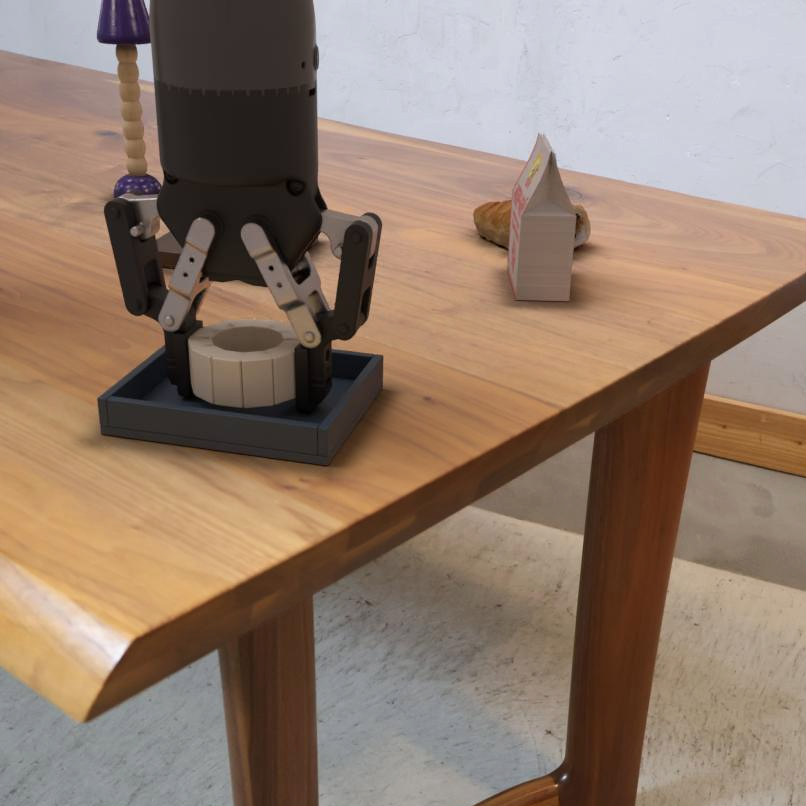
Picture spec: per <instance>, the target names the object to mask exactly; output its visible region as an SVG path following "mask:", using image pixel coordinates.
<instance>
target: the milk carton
mask: <svg viewBox="0 0 806 806" xmlns="http://www.w3.org/2000/svg"><path fill="white" fill-rule="evenodd" d="M556 155H557V154H556V152H555V150H554V149H553V147H552V145H551V143H550V142H549V139H548V138H547V136H546V134H545V133H544V132H543V134H542V133H540V132H538V133H537V137H536V140H535V144H534V146H533V149H532V151H531V154H530V156H529V158H528V160H527V162H526V163H525V165H524V166H523V169H522V171H521V173H520V175H519V176H518V178H517V180H516V182H515V184H514V186H513V187H512V189H511V200H512V202H511V218H510V234H509V249H508V250H507V251H508V252H507V269H506V270H507V274H508V278H509V281H510V285H511V289H512V292H513V295H514V299H515V301H539V302H540V301H543V302H544V301H545V302H570V295H571V293H570V292H571V282H572V272H573V259H574V249H575V248H574V238H575V227H576V214H575V212H574V209H573V207H572V204H573V203H572V202H571V200H570V197H569V194H568V193H567V190H566V188H565V185H564V182H563V180H562V176H561V173H560V171H559V167H558V162H557V161H558V160H557V156H556Z"/></svg>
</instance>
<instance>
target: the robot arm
mask: <svg viewBox="0 0 806 806" xmlns="http://www.w3.org/2000/svg"><path fill="white" fill-rule="evenodd" d="M148 9H149V10H148V11H149V12H148V14H149V23H150V38H151V43H150V48H151V49H150V51H151V60H152V61H151V62H152V75H153V86H154V87H153V88H154V100H155V101H154V102H155V117H156V128H157V141H158V154H159V164H160V166H161V169H162V173H163V181H162V184H161V185H162V188H161V190H160V192H159V194H155V195H145V194H144V193H143V192H141V191H139V190H132V191H129V192H127V193H125V194H123V195H121V196H119V197H117V198H115V197H114V199H111V200H109V201H107V202H106V204H105V205H104V207H103V215H104V220H105V223H106V229H107V232H108V237H109V242H110V245H111V249H112V250H111V251H112V255H113V257H114V263H115V266H116V271H117V276H118V280H119V285H120V288H121V293H122V298H123V301H124V302H123V303H124V306H125V308H126V310H127V312H128V313H129V314H130V315H132V316H135V317H141V316H145V317H147V318H150V319H151V320H153V321H156V322H157V323H158V324H159V325H160V327H161V328H162V330H163V339H164V345H165V352H166V364H167V376H168V378H169V380H170V382H171V384H172V385H177V392H178V395H179V396H183V397H191V398H193V397H194V396H195V394H194V393H193V389H192V386H191V378H190V364H189V350H188V339H189V337H190V336H191V335H192V334H194V333H195V332H196V331H197V330H198V329H200V328H202V327H204V320H201V319H197V315H198V314H199V312H200V310H201V307H202V305H203V304H204V301H205V299H206V296H207V294H208V292H209V289H210V287H211V285H212V284H213V283H215V282H217V283H228V282H233V281H239V282H242V283H244V284H247V285H250V286H254V287H261V288H268V290H269V293H270V294H271V296H272V299H273V300H274V302H275V305H276V306H277V308H278V309H280V311H281V310H282V311H283V312H284V313H285V315H286V316H287V319H288V321H289V324H290V325H292V327H293V329H294V331H295V333H296V335H297V337H298V339H299V341H300V343H299V344H298V345H297V346H296V347H295V348H294V350H295V385H296V409H297V411H298V412H305V413H312V412H313V411H314V409H315V408H316V407H317V406H318V404H321V402H322V401H323V400H324V399H325V397H326V396H327V395H328V394H329V392H330V389H331V387H332V349H333V344H332V343H333V341H338V340H340V341H346V342H347V341H349V340H351V339H353V338H354V337H355V335H356V334H357V333H358V330H359V329H360V328H361V327H362V326H364V325H365V323H367V322H368V319H369V316H370V309H371V302H372V296H373V291H374V290H373V289H374V284H375V277H376V270H377V264H378V257H379V251H380V244H381V237H382V230H383V221H382V219H381V217H380V216H379V215H378V214H377V213H376V212H375V213H374V212H365V213H363V214H361V215H360V216H358V215H353V214H349V213H345V212H342V211H337V210H333V209H329V208H328V205H327V202H326V200H325V199H324V197H323V195H322V193H321V190H320V187H319V130H318V129H319V128H318V127H319V125H318V122H319V121H318V119H319V118H318V70H319V66H320V50H319V46H318V44H317V23H316V22H317V20H316V12H315V4H314V0H149V5H148ZM161 221H162V222H163V224H164V225H165V227H166V228H167V229H168V232H171V233H172V235H173V236H174V238H175V239H176V240H177V242H178V243H179V245H180V246H181V247H182V249H183V251H182V253H181V255H180V258H179V260H178V263H177V265H176V268H174V270H173V273H172V275H171V278H170V280H169V282H168V288H169V289H168V288H167V284H166V279H165V275H164V274H165V273H164V270H163V269H164V268H163V267H162V265H161V260H160V255H159V251H158V246H157V241H156V239H157V237H156V234H158V233H159V232H160V229H161ZM321 233H322V234H324V235H325V236H326V237H327V238H328V240H329V243H330V252H331V254H332V256H333V257H335V258H336V259H337V260H339V261H340V264H339V269H338V270H339V271H338V279H337V285H336V293H335V299H334V302H335V303H334V307H333V309H331V307H330V305H329V302H328V301H327V298H326V296H325V295H324V292H323V290H322V280H321V277H320V275H319V272H318V270H317V268H316V265H315V263H314V262H313V259H312V257H311V255H310V253H309V250H310V247H311V245H312V244H313V243H314V241H315V240H316V238H317V237H318V238H319V236H320V235H321ZM311 248H312V247H311Z"/></svg>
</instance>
